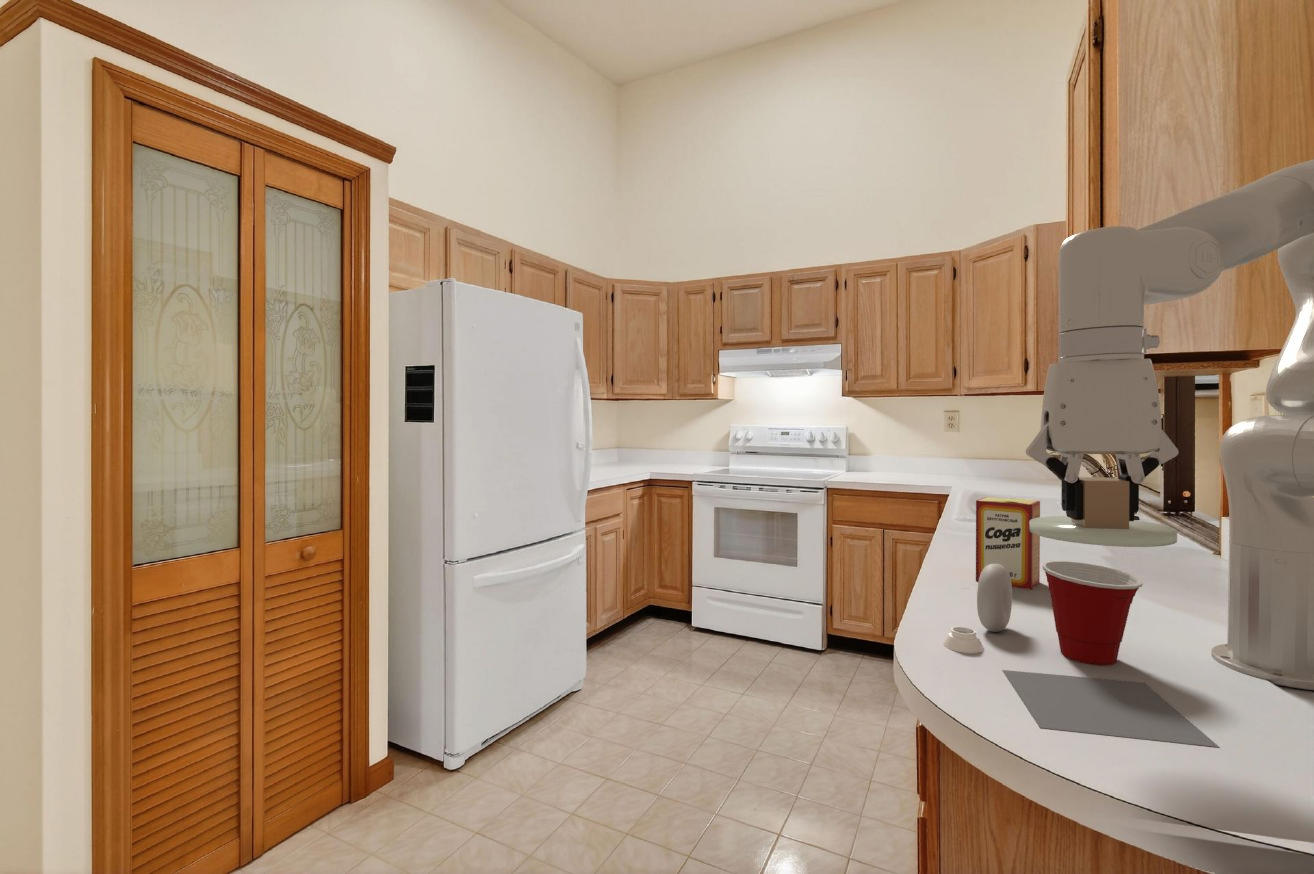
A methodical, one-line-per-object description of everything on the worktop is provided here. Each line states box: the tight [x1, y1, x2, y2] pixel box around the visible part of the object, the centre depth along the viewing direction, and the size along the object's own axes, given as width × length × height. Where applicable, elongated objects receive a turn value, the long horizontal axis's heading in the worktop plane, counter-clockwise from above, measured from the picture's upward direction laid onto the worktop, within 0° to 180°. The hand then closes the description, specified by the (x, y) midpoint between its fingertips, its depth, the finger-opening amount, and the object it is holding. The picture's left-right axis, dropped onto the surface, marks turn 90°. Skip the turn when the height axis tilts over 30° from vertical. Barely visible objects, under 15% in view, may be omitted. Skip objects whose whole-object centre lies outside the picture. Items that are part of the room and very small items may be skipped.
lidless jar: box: [942, 626, 985, 654], centre depth 86 cm, size 5×3×5 cm
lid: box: [1029, 476, 1178, 548], centre depth 68 cm, size 13×13×6 cm
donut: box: [976, 564, 1013, 633], centre depth 94 cm, size 10×4×10 cm, turn 141°
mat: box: [1001, 669, 1221, 749], centre depth 69 cm, size 15×15×1 cm
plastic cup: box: [1042, 560, 1144, 666], centre depth 82 cm, size 11×11×12 cm
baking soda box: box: [975, 496, 1041, 591], centre depth 121 cm, size 10×6×16 cm
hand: (1099, 517), depth 68 cm, fingers closed on lid, 4 cm apart
